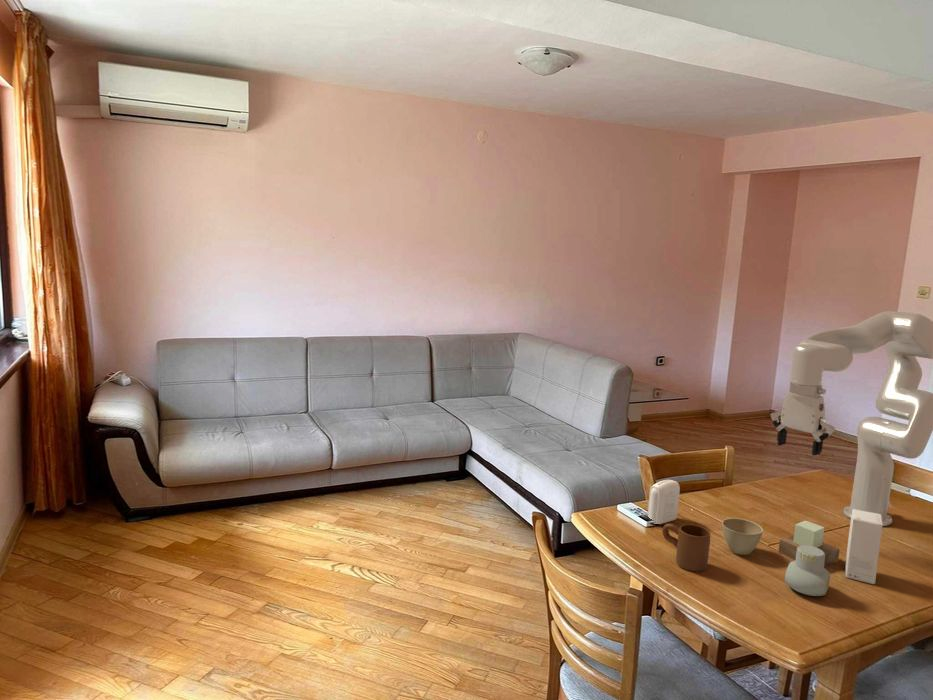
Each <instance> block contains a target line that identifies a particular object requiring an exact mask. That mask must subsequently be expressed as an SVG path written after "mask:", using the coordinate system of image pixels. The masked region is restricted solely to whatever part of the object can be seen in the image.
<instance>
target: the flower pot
mask: <svg viewBox="0 0 933 700" xmlns="http://www.w3.org/2000/svg"><path fill="white" fill-rule="evenodd" d="M721 527H722V533H723V534H722V535H723V537H724V540H725V543H726V546H727V548H728V549H729V551H730V552H731V553H733V554H736V555H738V556H739V555H740V556H748V555H750V554H751V553H752V552H753V551H754V550H755V548H756V547H757V545H758V544H759V542H760V540H761V538H762V535H763V531H764V529H763V527H762V526H761V525H759V524H758V523H756V522H755V521H751V520H748V519H744V518H736V517H734V518H733V517H728V518H724V519H723V520H722V521H721Z"/></svg>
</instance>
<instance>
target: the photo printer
mask: <svg viewBox="0 0 933 700" xmlns="http://www.w3.org/2000/svg"><path fill="white" fill-rule="evenodd" d="M680 490H681V487H680V484H679V482H678V481H676V480H672V479H664V480H661V481H657V482H656V483H655V484H653V485H652V486H650V488H649V494H648V495H649V496H648V505H647V515H646V517H647V516H648V517H649V518H650V519H652V520H654V521H656V523H657V524H659V525H663V524H667V523H669V522H672V521H675V520H677V519H678V510H679V500H680V492H681V491H680Z"/></svg>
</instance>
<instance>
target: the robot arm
mask: <svg viewBox="0 0 933 700" xmlns="http://www.w3.org/2000/svg"><path fill="white" fill-rule="evenodd" d="M883 346H884V349H885V352H886V355H887V358H888V371H887V373H886V376H885V378H884V380H883V383H882V386H881V388H880V389H879V392H878V394H877V396H876V397H877V398H876V400H875V408H876V409H877V411H878V412H880V413H881V414H885V415H887V416H890V417H893V418H897V419H901V420H904V421H905V420H906V421H908V423H902V422H899V421H896V420H893V419H892V420H891V419H888V418H884V417H879V416H867V417H865V418H863V419H862V420H861V421H860V422H858V425H857V428H856V430H857V431H856V437H857V438H856V439H857V458H856V465H855V471H854V479H853V484H852V485H853V486H852V492H851V499H850V505H849V506H845V507H844V508H843V514H844V516H846V517H848V518H849V519H851V516H852V510H853V509H856V510H861V511H866V512H871V513H877V514H881V516H882V523H883V526H882V527H888V526H890V525H891V524H892V523H893V519H892V516H890V515H889V514H888V510H889V508H891V507H892V504H891V502H890V495H891V488H892V485H893V484H892V482H893V477H894V470H895V464H894V459H893V457H892V455H894V456H896V457H897V456H898V457H902V458H905V459H909V460H911V459H917V458H919V457H920V456H921V455H922V454H923V453H924V451H925V450H926V447H927V445H928V442H929V440H930V438H931V435H932V433H933V392H930V391H926V390H923V389H919V385H920V383H921V381H922V378H923V377H922V376H923V371H922V367H921V365H920V363H919V362H918V359H917V358H923V359H928V360H933V320H932V319H930V318H929V317H927V316H926V315H923V314H919V313H912V312H903V311H894V310H888V311H887V310H886V311H882V312H879V313H876V314H875V315H872V316H871V317H868V318H866V319H865V320H863V321H861V322H859V323H856V324H854V325H849V326H844V327H843V326H842V327H838V328H834V329H828V330H824V331H819V332H816V333H815V334H812V335H810V336H807V337H806V338H804V339H803V340H801V341H800V343H798V344H797V345H795V346H794V348H793V353H792V363H791V371H790V380H789V381H790V382H789V391H787V392H786V394H785V396H784V400H783V403H782V409H781V410H780V411H779V410H778V411H776V412H775V411H774V412H771V413H770V415H769V416H770V418H771V420H772V425H774V427H775V430H776V431H777V437H776V440H777V446H780V447H781V446H783V445H786V443H787V437H788V431H787V429H788V428H789V429H793V430H797V431H799V432H805V433H809V434H811V435H812V436H813V438H814V440H813V443H812V449H811V450H812V451H811V455H812V456H819V455H820V454H821V453H822V452H823V444H824V441H825V440H826V439H829V438H830V437H831V435H833V433H834V432H835V431H836V428H835V426H833V425H832V424H830V422H828V421H826V420H825V419H826V413H825V412H826V407H825V398H824V396H822V395H826V391H827V390H826V389H824V388H823V385H822V384H823V373H824V372H826V371H827V372H833V373H834V372H835V373H836V372H837V373H838V372H843V371H846V370H847V369H848V368H850V366H851V365H852V363H853V359H854V356H853V355H856V354H857V355H859V354H867V353H871V352H873V351H874V350H877V349H879V348H880V347H883ZM916 357H917V358H916ZM779 417H780V420H779ZM824 429H826V430H825V432H824V433H823V430H824Z"/></svg>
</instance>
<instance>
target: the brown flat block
mask: <svg viewBox="0 0 933 700" xmlns="http://www.w3.org/2000/svg"><path fill="white" fill-rule="evenodd" d="M793 540H794V535H793V536H787V537H784V538H781V539H779V545H778V553H780V554H781V555H783V556H786V557H787V558H790V559H792V560H793V561H795V560H796V553H797V548H798V547H799V546H801V545H799V544H797V543H794V542H793ZM817 548H818V549H820V550H822V551H823V552H824V553H825V561H824V567H827V566H829V565H832V564H835V563H838V562H839V556H840V548H838V547H836V546H834V545H831V544H829V543H827V542H825V541H823V542H822V546H819V547H817Z"/></svg>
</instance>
